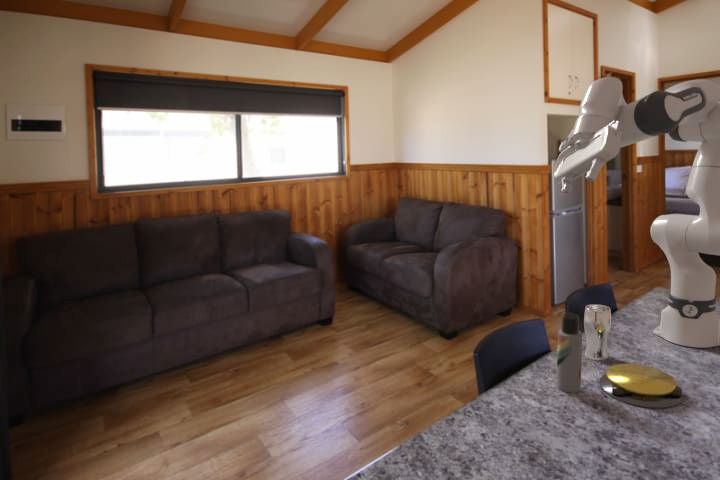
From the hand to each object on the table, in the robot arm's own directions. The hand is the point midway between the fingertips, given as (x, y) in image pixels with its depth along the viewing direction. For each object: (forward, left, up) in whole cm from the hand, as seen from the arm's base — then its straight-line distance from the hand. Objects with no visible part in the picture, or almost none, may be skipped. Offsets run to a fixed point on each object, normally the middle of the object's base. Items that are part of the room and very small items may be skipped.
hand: (577, 186), depth 108 cm
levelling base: (-10, +14, -52) cm, 55 cm away
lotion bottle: (-2, -1, -53) cm, 53 cm away
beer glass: (-25, +1, -53) cm, 58 cm away
